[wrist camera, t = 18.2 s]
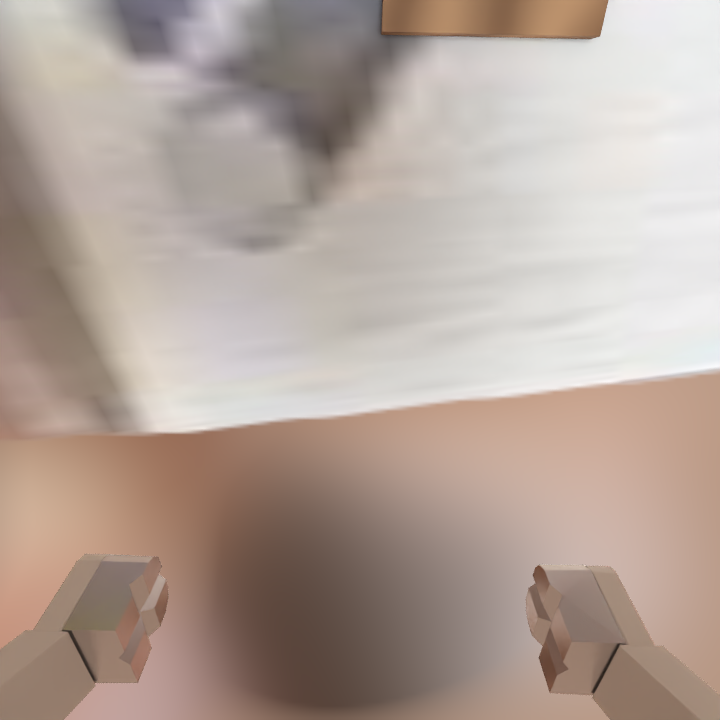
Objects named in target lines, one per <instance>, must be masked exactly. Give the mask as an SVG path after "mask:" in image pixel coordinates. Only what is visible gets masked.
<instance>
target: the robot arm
mask: <svg viewBox="0 0 720 720" xmlns="http://www.w3.org/2000/svg"><path fill="white" fill-rule="evenodd" d="M161 568H162V565H161V562H160V560H159V557H155V556H154V557H153V556H131V555H110V554H85V555H84V556H82V557H81V558H80V559H79V560H78V561H77V562H76V563H75V565H74V567H73V568H72V570H71V571H70V573H69V574H68V576H67V578H66V579H65V581H64V582H63V584H62V585H61V587H60V589H59V590H58V592H57V593H56V595H55V596H54V598H53V600H52V601H51V603H50V604H49V606H48V607H47V609H46V611H45V612H44V614H43V615H42V617H41V618H40V620H39V622H38V623H37V625H36V626H35V628H34V629H33V630H26V631H24V632H23V633H21V634H20V635H19V636H17V637H16V638H15V639H13V640H12V641H11V642H9V643H8V644H7V645H5V646H4V647H3V648H1V649H0V720H64V719H65V718H66V717H67V716H68V714H70V712H71V711H72V710H73V709H74V708H75V707H76V706H77V705H78V704H79V703H80V702H81V701H82V700H83V699H84V698H85V697H86V695H87V694H88V693H89V692H90V691H91V690H92V689H93V688H94V687H95V683H138V681H139V678H140V676H141V674H142V671H143V669H144V666H145V663H146V661H147V659H148V656H149V654H150V651H151V649H152V647H151V644H150V640H149V636H150V635H151V634H152V633H153V632H154V631H156V630H157V629H158V628H159V627H160V626H161V623H162V620H163V618H164V615H165V612H166V607H167V602H168V585H167V581H166V579H164V578H163V577H162V576H161V575H159V572H160V570H161ZM533 577H534V580H535V584H534V585H533V586H531V587H530V588H529V589H528V593H527V596H526V614H527V619H528V624H529V627H530V631H531V634H532V636H533V637H534V638H535V639H536V640H537V641H538V642H539V643H540V644H541V645H542V646H543V647H542V650H541V653H540V656H539V660H540V663H541V666H542V670H543V673H544V676H545V679H546V682H547V685H548V689H549V692H550V693H560V694H579V695H593V699H594V701H595V702H596V703H597V704H598V705H599V707H600V708H601V709H602V710H603V711H604V713H605V714H606V715H607V716H608V718H609V719H610V720H720V694H718V693H717V692H716V691H715V690H714V689H712V688H711V687H710V686H709V685H708V684H707V683H705V682H704V681H703V680H702V679H701V678H700V677H699V676H697V675H696V674H695V673H694V672H693V671H692V670H690V669H689V668H688V667H687V666H686V665H685V664H683V663H682V662H681V661H680V660H679V659H678V658H676V657H675V656H674V655H673V654H672V653H671V652H669V651H668V650H667V649H666V648H665V647H663V646H656V645H655V644H654V642H653V640H652V638H651V637H650V635H649V633H648V631H647V629H646V627H645V625H644V623H643V621H642V620H641V618H640V616H639V614H638V612H637V610H636V608H635V607H634V605H633V603H632V601H631V599H630V597H629V596H628V594H627V592H626V590H625V588H624V586H623V584H622V582H621V581H620V579H619V577H618V575H617V573H616V571H615V570H614V569H613V568H611V567H609V566H584V565H538V566H537V567H536V568H535V570H534V573H533Z"/></svg>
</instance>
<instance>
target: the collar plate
mask: <svg viewBox="0 0 720 720" xmlns="http://www.w3.org/2000/svg"><path fill="white" fill-rule="evenodd" d="M607 4H608V0H383V2H382V31H381V34H382V35H428V36H474V37H520V38H566V39H592V38H596V37H599V36H600V34H601V30H602V25H603V21H604V17H605V12H606V8H607Z"/></svg>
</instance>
